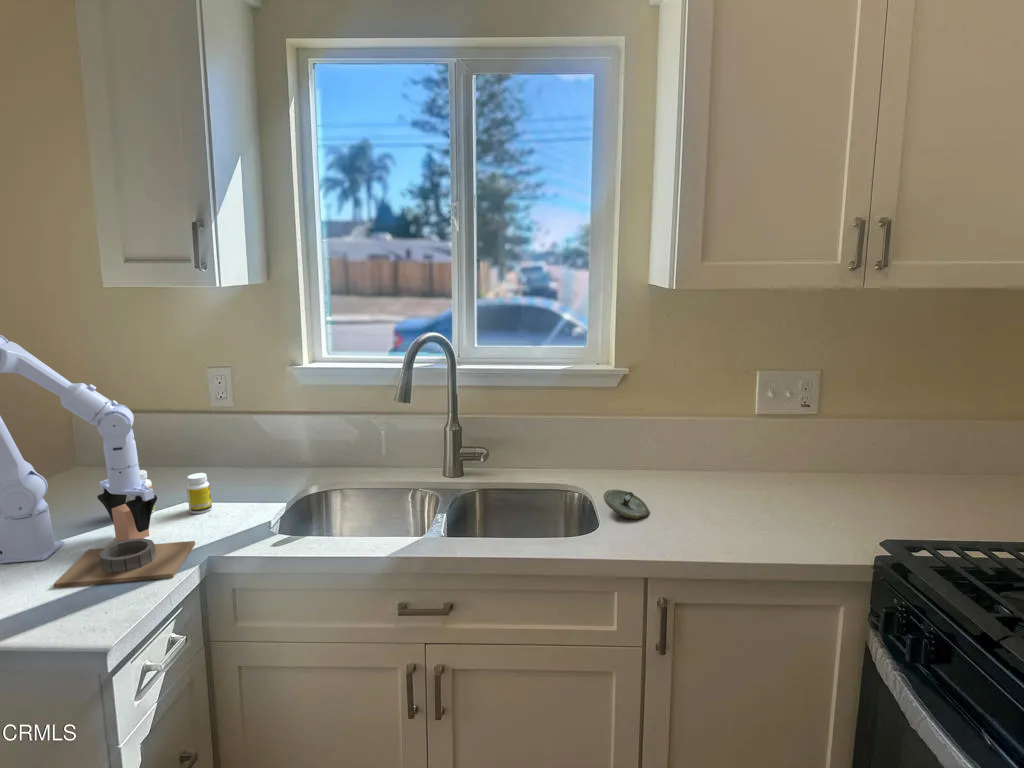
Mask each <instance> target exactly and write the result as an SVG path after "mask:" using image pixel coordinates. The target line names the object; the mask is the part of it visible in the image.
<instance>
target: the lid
mask: <svg viewBox="0 0 1024 768" xmlns="http://www.w3.org/2000/svg"><path fill="white" fill-rule="evenodd" d="M602 497H603V501H604V502H605V504H606V505H607V506H608V507H609V508H610V509H611V510H612V511H614V512H615V513H616V514H619V515H620V516H622V517H624V518H626V519H631V520H639V519H644V518H646V517H647V516H648V515H649V507H648V505H647V504H646V503H645V502H644V501H643V500H642V499H641V498H640V497H638V496H637V495H635V494H634V493H633V492H632V491H626V490H622V489H609V490H607V491H604V494H603V495H602Z"/></svg>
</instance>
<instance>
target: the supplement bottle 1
mask: <svg viewBox="0 0 1024 768" xmlns="http://www.w3.org/2000/svg"><path fill="white" fill-rule="evenodd" d="M139 471H140V478H141V479H144V480H146V483H145V485H146V486H147V487H149V488H151V489H153V485H152V484H153V483H152V481H151V479H148V472H147V470H145V469H139ZM134 499H135V497H133V496H129V495H127V497H126V502H128V501H131V500H134ZM155 505H156V503H155V504H154V507H153V509H152V513H151V514H153V513H154V512H155V511H156V506H155Z"/></svg>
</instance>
